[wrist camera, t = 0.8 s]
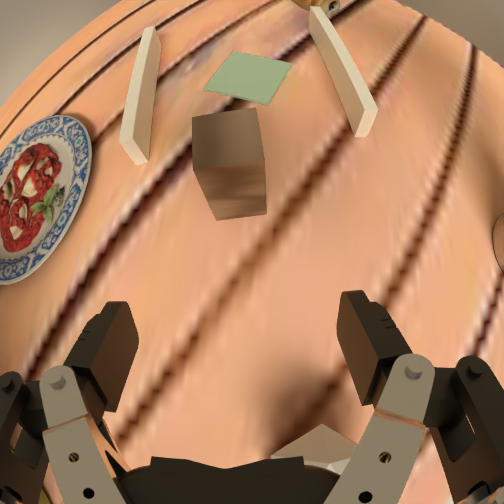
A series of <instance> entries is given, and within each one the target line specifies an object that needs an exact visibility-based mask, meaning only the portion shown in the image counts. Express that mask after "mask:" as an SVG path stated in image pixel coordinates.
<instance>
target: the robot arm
mask: <svg viewBox="0 0 504 504" xmlns="http://www.w3.org/2000/svg"><path fill="white" fill-rule="evenodd" d="M493 245H494V250H495V255H496V258H497V261H498V263H499V265H500V268H501V269H502V271H503V273H504V214H503V215H502V216H500V217H499V218H498V219H497V221H496V223H495V226H494V231H493ZM337 337H338V341H339V344H340V346H341V349H342V352H343V354H344V357H345V360H346V362H347V365H348V368H349V371H350V373H351V376H352V379H353V382H354V384H355V387H356V390H357V393H358V396H359V399H360V402H361V404H362V406H365V405H370V404H373V407H374V409H375V411H374V413H373V415H372V417H371V419H370V421H369V423H368V426H367V428H366V430H365V432H364V434H363V436H362V438H361V440H360V442H359V444H358V446H357V447H356V449H355V451H354V453H353V455H352V457H351V459H350V460H349V462H348V464H347V466H346V467H345V469H344V471H343V473H342V474H341V475H339V474H337V473H335V472H333V471H331V470H328V469H325V468H322V467H318V466H313V465H304V459H303V456H298V457H288V458H277V459H265V460H261V461H257V462H254V463H250V464H246V465H242V466H238V467H233V468H228V469H222V468H217V467H213V466H209V465H205V464H201V463H198V462H194V461H190V460H187V459H173V458H162V457H153V456H152V457H151V463H150V465H148V466H143V467H139V468H136V469H133V470H131V469H130V467H129V466H128V464H127V463H126V462H125V460H124V459H123V457H122V455H121V453H120V451H119V449H118V447H117V445H116V443H115V441H114V439H113V437H112V435H111V433H110V431H109V429H108V427H107V425H106V423H105V421H104V419H103V418H102V417H103V414H104V411H108V412H115V413H116V410H117V407H118V404H119V401H120V398H121V395H122V392H123V389H124V386H125V383H126V380H127V377H128V374H129V371H130V368H131V366H132V363H133V360H134V357H135V354H136V352H137V349H138V344H139V337H138V332H137V329H136V326H135V323H134V320H133V317H132V314H131V310H130V307H129V305H128V303H127V302H126V301H109V302H107V303H106V304H105V306H104V308H103V309H102V311H101V313H100V314H96V315H95V316H94V317H93V318H92V319H90V320H89V321H88V322H87V324H86V326H85V327H84V329H83V331H82V333H81V334H80V336H79V337H78V340H77V341H76V342H75V344H74V346H73V348H72V350H71V351H70V353H69V355H68V357H67V358H66V360H65V362H64V364H63V366H56V367H53V368H51V369H49V370H48V371H46V372H45V373H44V374H43V376H42V378H41V380H40V381H32V382H25V381H24V380H23V378H22V377H21V376H20V374H19V373H17V372H13V371H12V372H7V373H5V374H3V375H2V376H0V504H38V502H39V498H40V493H41V489H42V485H43V481H44V477H45V474H46V470H47V466H48V463H49V461H50V464H51V467H52V470H53V473H54V476H55V479H56V482H57V485H58V488H59V490H60V493H61V496H62V498H63V501H64V503H65V504H397V503H398V501H399V499H400V497H401V495H402V492H403V490H404V488H405V485H406V483H407V480H408V478H409V475H410V473H411V470H412V468H413V465H414V462H415V459H416V457H417V454H418V451H419V448H420V445H421V442H422V439H423V436H424V432H425V427H429V429H430V432H431V435H432V437H433V440H434V443H435V446H436V448H437V451H438V454H439V457H440V460H441V463H442V466H443V469H444V472H445V475H446V478H447V482H448V485H449V488H450V492H451V495H452V499H453V501H454V504H504V390H503V388H502V386H501V385H500V383H499V382H498V380H497V378H496V377H495V375H494V373H493V372H492V370H491V369H490V367H489V366H488V364H487V363H486V362H485V361H483V360H482V359H480V358H478V357H475V356H466V357H463V358H461V359H460V360H459V361H458V363H457V365H456V367H455V368H437V367H434V366H433V365H432V363H431V362H430V361H429V360H428V359H427V358H425V357H423V356H421V355H418V354H413V352H412V351H411V349H410V347H409V346H408V344H407V342H406V341H405V339H404V337H403V336H402V334H401V332H400V331H399V329H398V328H396V324H395V323H394V321H393V320H392V318H391V316H390V315H389V313H388V312H387V310H386V309H385V308H384V307H382V306H381V305H380V304H378V303H377V302H370V301H369V299H368V298H367V296H366V294H365V293H364V291H363V290H355V291H345V292H342V294H341V298H340V306H339V313H338V319H337ZM466 415H467V417H468V419H469V421H470V423H471V425H470V423H469V421H468V419H467V417H466ZM17 422H18V423H19V425H20V426H21V427H22V428H23V429H22V431H21V434H20V436H19V439H18V442H17V444H16V447H15V450H14V453H12V451H11V449H10V444H9V443H10V438H11V436H12V433H13V431H14V428H15V426H16V423H17ZM471 426H472V428H473V430H474V432H473V430H472V428H471ZM474 433H475V434H474Z"/></svg>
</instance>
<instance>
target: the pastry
mask: <svg viewBox="0 0 504 504" xmlns="http://www.w3.org/2000/svg"><path fill="white" fill-rule="evenodd" d="M293 2H295V3H297V4H298V5H299V6H300V7H301V8H304V9H306V10H309V11H310V6H316V7H321V9H322V10H323V12H324V13H325V15H329V14H331V13H332V12H333V11H336V10H338V9H339V8H340V2H339V0H293Z"/></svg>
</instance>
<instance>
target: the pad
mask: <svg viewBox="0 0 504 504" xmlns="http://www.w3.org/2000/svg"><path fill="white" fill-rule="evenodd" d="M291 67H292V64H291V63H287V62H283V61H279V60H274V59H270V58H265V57H260V56H255V55H250V54H245V53H239V52H232V54H231V55H230V56H229V57H228V58H227V59H226V61H225V62H224V63H223V64H222V66H221V67H220V68H219V69H218V70H217V72H216V73H215V74H214V75H213V77H212V78H211V79H210V81H209V82H208V83H207V84H206V86H205V87H204V88H203V90H204V91H208V92H213V93H218V94H222V95H227V96H231V97H235V98H240V99H244V100H248V101H252V102H256V103H259V104H263V105H267V106H268V105H269V103H270V102H271V100H272V98H273V96H274V95H275V93H276V91H277V90H278V88H279V86H280V85H281V83H282V81H283V80H284V78H285V76H286V75H287V73H288V71H289V70H290V68H291Z"/></svg>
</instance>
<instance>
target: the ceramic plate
mask: <svg viewBox="0 0 504 504" xmlns="http://www.w3.org/2000/svg"><path fill="white" fill-rule="evenodd" d="M91 159H92V147H91V140H90V137H89V134H88V132H87V129H86V128H85V126H84V125H83V124H82V123H81V122H80V121H79V120H78V119H76V118H74V117H72V116H67V115H55V116H51V117H48V118H45V119H42V120H40V121H38V122H36V123H34V124H33V125H31V126H29V127H28V128H26V129H25V130H23V131H22V132H21V133H20V134H19V135H18V136H16V137H15V138H14V139H13V140H12V141H11V142H10V143H9V144H8V145H7V147H6V148H5V149H4V150H3V151H2V153H1V154H0V284H4V285H7V284H12V283H16V282H19V281H21V280H23V279H25V278H26V277H28V276H29V275H31V274H32V273H33V272H34V271H36V270H37V269H38V268H39V267H40V266H41V265H42V264H43V263H44V262H45V261H46V260H47V259H48V258H49V256H50V255H51V254H52V253H53V251H54V250H55V249H56V247H57V246H58V244H59V243H60V242H61V240H62V238H63V237H64V235H65V234H66V232H67V230H68V228H69V227H70V225H71V223H72V221H73V219H74V217H75V215H76V213H77V211H78V208H79V206H80V203H81V201H82V198H83V195H84V193H85V189H86V186H87V183H88V178H89V174H90V169H91Z"/></svg>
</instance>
